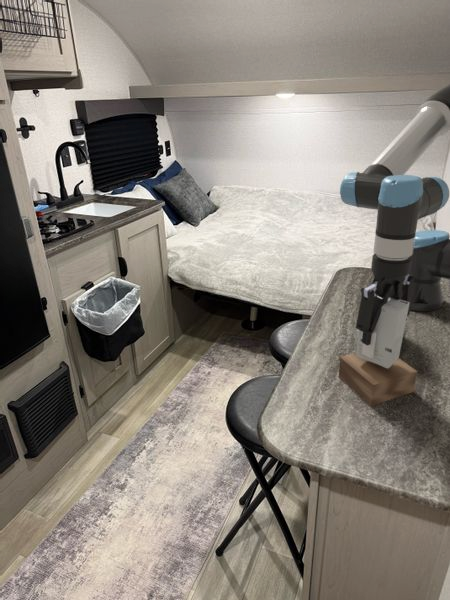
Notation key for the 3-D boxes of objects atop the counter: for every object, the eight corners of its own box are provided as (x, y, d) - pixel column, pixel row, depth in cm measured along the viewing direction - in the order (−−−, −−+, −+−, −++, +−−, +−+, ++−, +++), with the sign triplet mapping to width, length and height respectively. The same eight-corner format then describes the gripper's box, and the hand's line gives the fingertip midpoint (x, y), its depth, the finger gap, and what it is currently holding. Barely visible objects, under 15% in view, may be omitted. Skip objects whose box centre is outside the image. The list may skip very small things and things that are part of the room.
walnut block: (378, 365, 107) (380, 345, 104) (413, 392, 97) (417, 371, 94) (338, 377, 103) (340, 357, 100) (370, 407, 93) (373, 385, 90)
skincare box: (355, 357, 97) (360, 300, 91) (366, 345, 101) (372, 290, 95) (390, 370, 92) (398, 310, 86) (401, 357, 96) (410, 299, 89)
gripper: (409, 240, 93) (395, 330, 103) (342, 259, 84) (335, 356, 94) (439, 249, 87) (422, 344, 97) (372, 271, 78) (360, 372, 88)
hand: (379, 349), depth 96 cm, fingers closed on skincare box, 7 cm apart
